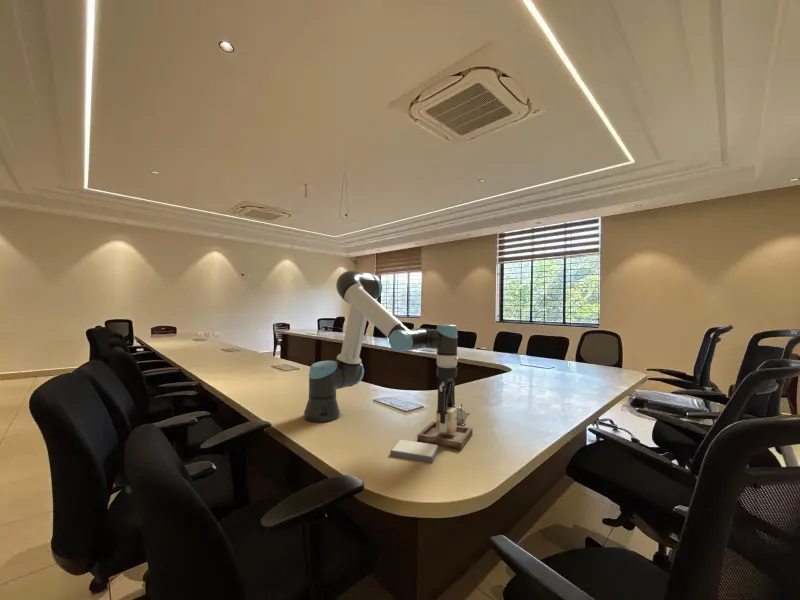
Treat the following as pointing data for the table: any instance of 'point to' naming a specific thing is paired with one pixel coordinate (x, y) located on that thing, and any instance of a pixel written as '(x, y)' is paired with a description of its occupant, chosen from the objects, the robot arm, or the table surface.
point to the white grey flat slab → (415, 450)
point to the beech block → (448, 420)
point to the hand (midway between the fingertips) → (446, 428)
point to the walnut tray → (445, 437)
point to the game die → (461, 415)
